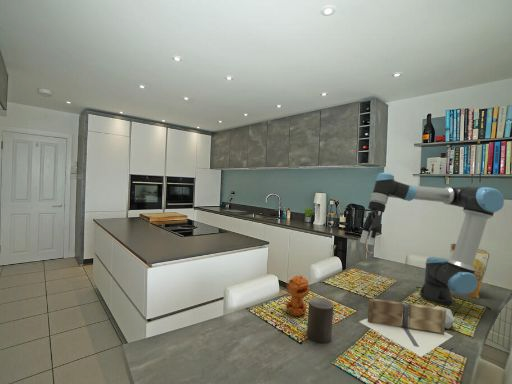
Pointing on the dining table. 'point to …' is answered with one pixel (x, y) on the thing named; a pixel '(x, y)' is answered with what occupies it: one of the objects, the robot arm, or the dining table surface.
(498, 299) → the dining table surface
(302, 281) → the orange carved figurine
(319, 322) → the pillar candle
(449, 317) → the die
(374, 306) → the fence gate
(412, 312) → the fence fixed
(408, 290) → the dining table surface
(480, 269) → the pancake mix bag
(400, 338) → the board
